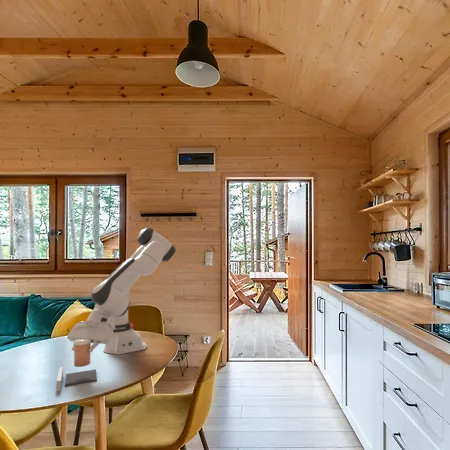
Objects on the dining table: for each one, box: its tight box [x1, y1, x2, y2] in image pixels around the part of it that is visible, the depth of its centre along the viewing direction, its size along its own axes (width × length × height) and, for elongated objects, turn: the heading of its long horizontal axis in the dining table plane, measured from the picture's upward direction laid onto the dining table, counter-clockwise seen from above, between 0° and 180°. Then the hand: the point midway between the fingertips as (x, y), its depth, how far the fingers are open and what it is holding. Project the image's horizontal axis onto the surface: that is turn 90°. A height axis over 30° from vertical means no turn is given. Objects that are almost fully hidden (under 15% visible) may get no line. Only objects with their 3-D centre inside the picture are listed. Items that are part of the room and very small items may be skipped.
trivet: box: [64, 369, 98, 387], centre depth 139 cm, size 12×12×1 cm
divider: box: [55, 366, 64, 392], centre depth 134 cm, size 2×16×4 cm, turn 23°
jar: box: [73, 339, 92, 368], centre depth 140 cm, size 7×7×10 cm
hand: (81, 351), depth 139 cm, fingers closed on jar, 6 cm apart
